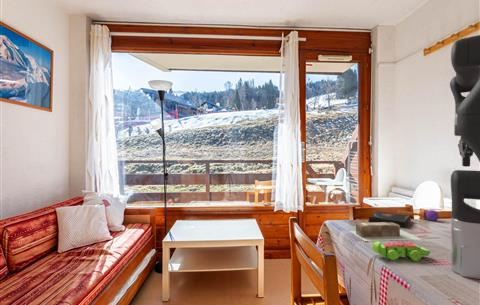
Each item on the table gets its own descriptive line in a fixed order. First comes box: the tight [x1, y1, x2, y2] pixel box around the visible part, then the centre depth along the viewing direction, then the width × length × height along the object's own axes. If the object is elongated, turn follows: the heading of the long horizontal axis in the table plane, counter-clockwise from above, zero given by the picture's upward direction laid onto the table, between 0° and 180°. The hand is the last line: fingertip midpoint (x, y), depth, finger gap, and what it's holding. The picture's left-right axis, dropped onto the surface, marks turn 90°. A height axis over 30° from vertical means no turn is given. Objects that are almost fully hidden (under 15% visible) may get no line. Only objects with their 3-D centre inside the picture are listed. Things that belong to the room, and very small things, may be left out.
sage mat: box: [349, 229, 423, 242], centre depth 121 cm, size 26×14×1 cm, turn 93°
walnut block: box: [355, 222, 401, 237], centre depth 121 cm, size 5×5×18 cm
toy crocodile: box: [372, 241, 431, 262], centre depth 98 cm, size 20×7×6 cm, turn 86°
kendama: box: [396, 209, 440, 222], centre depth 151 cm, size 6×6×20 cm
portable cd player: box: [367, 210, 412, 229], centre depth 143 cm, size 16×17×4 cm
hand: (466, 166), depth 107 cm, fingers closed
